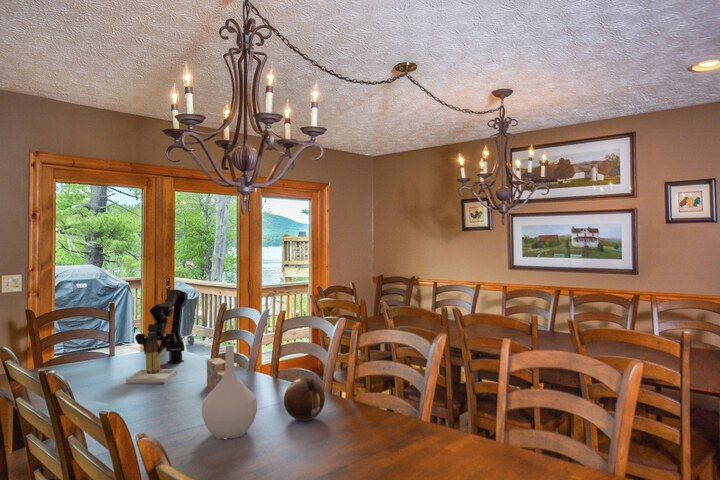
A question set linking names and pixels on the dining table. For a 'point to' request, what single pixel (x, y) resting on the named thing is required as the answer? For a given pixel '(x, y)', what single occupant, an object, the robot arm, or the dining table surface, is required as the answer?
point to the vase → (229, 404)
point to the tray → (151, 377)
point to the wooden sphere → (304, 399)
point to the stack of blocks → (215, 371)
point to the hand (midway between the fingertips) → (151, 353)
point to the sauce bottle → (152, 354)
